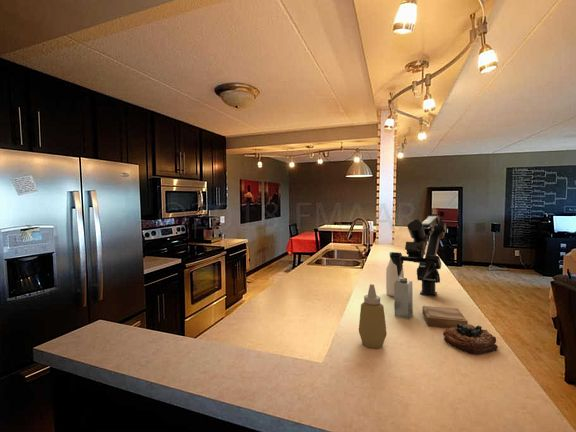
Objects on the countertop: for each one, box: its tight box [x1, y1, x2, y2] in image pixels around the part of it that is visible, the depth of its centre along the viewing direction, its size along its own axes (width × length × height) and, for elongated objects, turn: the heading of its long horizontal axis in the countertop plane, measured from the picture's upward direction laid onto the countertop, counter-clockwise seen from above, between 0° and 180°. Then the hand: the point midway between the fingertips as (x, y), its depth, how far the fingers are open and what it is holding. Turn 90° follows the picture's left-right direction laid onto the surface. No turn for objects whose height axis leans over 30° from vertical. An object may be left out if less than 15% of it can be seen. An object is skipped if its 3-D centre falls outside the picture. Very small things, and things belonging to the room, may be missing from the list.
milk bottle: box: [385, 251, 405, 297], centre depth 131 cm, size 8×8×20 cm
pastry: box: [443, 323, 499, 356], centre depth 82 cm, size 11×12×6 cm
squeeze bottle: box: [358, 284, 387, 349], centre depth 83 cm, size 8×8×18 cm
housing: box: [393, 277, 414, 320], centre depth 105 cm, size 5×5×14 cm
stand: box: [421, 305, 469, 329], centre depth 99 cm, size 12×12×3 cm
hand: (410, 277), depth 110 cm, fingers open, 9 cm apart
